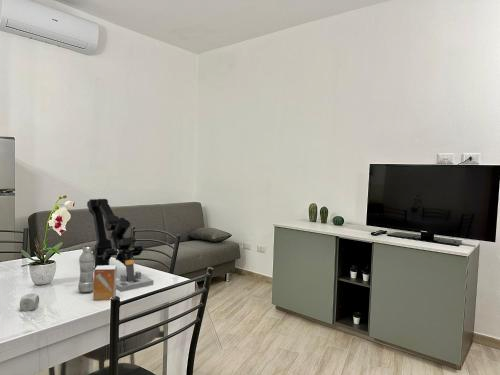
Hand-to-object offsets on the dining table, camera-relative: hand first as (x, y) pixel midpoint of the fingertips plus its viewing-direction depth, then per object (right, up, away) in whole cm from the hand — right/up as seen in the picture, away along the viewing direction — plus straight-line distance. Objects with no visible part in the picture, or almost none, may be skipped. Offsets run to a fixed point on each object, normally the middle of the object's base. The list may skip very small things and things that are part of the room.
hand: (128, 267), depth 166 cm
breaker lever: (+2, -6, -2) cm, 6 cm away
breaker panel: (+1, -8, -1) cm, 8 cm away
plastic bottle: (-14, -8, -14) cm, 21 cm away
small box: (-3, -8, -20) cm, 22 cm away
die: (-26, -8, -34) cm, 43 cm away
